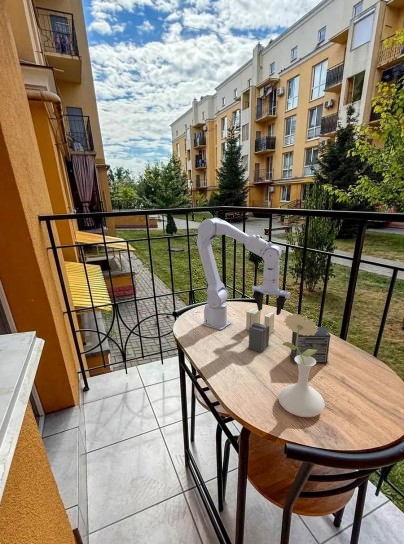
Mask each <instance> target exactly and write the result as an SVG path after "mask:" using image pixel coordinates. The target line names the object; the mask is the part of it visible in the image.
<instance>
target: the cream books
mask: <svg viewBox="0 0 404 544" xmlns="http://www.w3.org/2000/svg"><path fill="white" fill-rule="evenodd" d="M245 313H246V314H245V315H246V319H245V321H246V323H245V330H247V331H249V327H251V326H252V324H253V323H259V324H261V313H262V310H260V311H258V308H255V307H251V308H250V309H248V310H247V311H246V312H245Z"/></svg>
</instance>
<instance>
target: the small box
mask: <svg viewBox="0 0 404 544" xmlns="http://www.w3.org/2000/svg"><path fill="white" fill-rule="evenodd" d="M316 327H317V330H318V331H317V332H316V333H315V335H309V336H307V335H305V336H304V335H301V334H299V335H298V340H297V347H298V349H299V351H300V353H301V354H302V353H303V352H305V351H306V350H308V349H313V350H317V352H316V353H315V354H313V355H311V357H313V358H314V359H315V360H316V364H317V365H327V364H328V362H329V361H328V359H329V350H330V344H331V343H330V341H331V334H330V332H329V331H328V330H327V328H326V326H316ZM296 338H297V332H293V331H292V334H291V344H293V345H295V346H296ZM298 355H300V354H299V352H298V350H297V348H296V349H295V350H292V349H290V356H291V359H292V361H293V364H297V363H296V362H295V360H294V359H295V357H296V356H298ZM316 364H315V365H316Z"/></svg>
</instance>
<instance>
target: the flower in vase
mask: <svg viewBox="0 0 404 544" xmlns="http://www.w3.org/2000/svg"><path fill="white" fill-rule="evenodd" d="M283 322H284V323H285V327H287V328H288V330H291V331H292V332H297V338H296V346H295V345H293V344H292V342H289V341H286V342H283V343H282V344H281V345H282V346H285V347H287V348H289V349H290V350H291V349H292V350H295V349H296V348H297V350H298V352H299V354H300V355H298V356H296V357H295V359H294V360H295V362H296V363H295V364H296V365H297V367H298V368H297V369H298V378H297V379H298V380H297V382H296V383H292V384H289V385H285V386H284V387H283V388H281V390H280V391H279V393H278V397H277V399H278V402H279V404H280V405H281V407H282V408H283V409H284V410H285V411H286V412H287V413H289V414H291V415H294V416H297V417H301V418H314V417H316V416H318V415H320V414H321V413H323V411H324V410H325V407H326V405H325V400H324V398H323V396H322V395H321V394H320V392H318V390H316V389H315V388H313V387H312V386H310V385H309V376H310V372H311V369H312V368H313V367H314V366H315V365H316V360H315V359H314V358H313V357H311V355H313V354H315V353H316V352H317V350H313V349H308V350H306V351H305V352H303V353H302V354H301V353H300V351H299V349H298V347H297V340H298V335H299V334H301V335H304V336H305V335H307V336H309V335H315V333H316V332H317V331H318V330H317V327H318V326H316V325H317V323H316V322H314V320H312V319H308V316H307V315H301V314H300V313H299V314H296V313H292V314H288V315H286V316H285V318H284V320H283Z"/></svg>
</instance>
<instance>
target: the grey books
mask: <svg viewBox="0 0 404 544" xmlns="http://www.w3.org/2000/svg"><path fill="white" fill-rule="evenodd" d="M269 327H270V326H267V325H264V323H260V324H259V323H253V324H252V326H251V327H249V330H248V349H249V350H252V351H254V352H258V353H263V352H264V351H265V350H266V349H267V348H269V343H270V335H269Z"/></svg>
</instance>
